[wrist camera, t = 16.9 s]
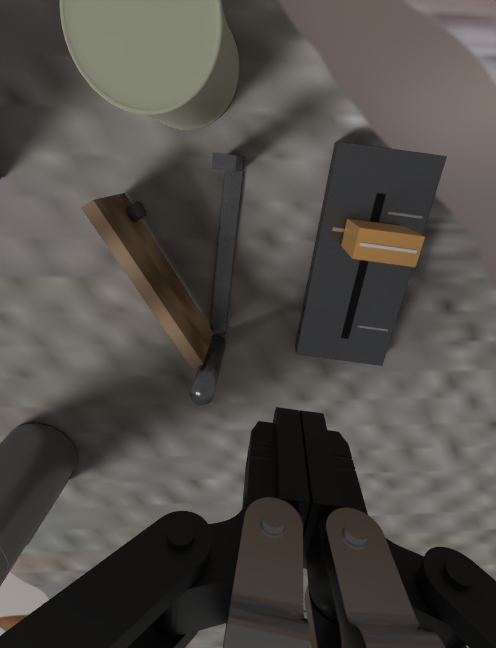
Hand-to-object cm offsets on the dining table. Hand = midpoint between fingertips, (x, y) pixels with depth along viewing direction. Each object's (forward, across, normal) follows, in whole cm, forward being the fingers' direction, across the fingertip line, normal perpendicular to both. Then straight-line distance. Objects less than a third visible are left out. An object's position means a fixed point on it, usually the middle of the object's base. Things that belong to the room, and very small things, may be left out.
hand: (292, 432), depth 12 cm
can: (+27, +10, -14) cm, 32 cm away
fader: (+25, -8, -3) cm, 26 cm away
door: (+26, +10, +3) cm, 28 cm away
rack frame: (+27, +5, +2) cm, 28 cm away
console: (+27, -8, 0) cm, 28 cm away
